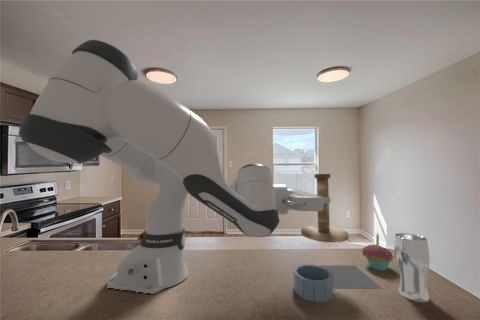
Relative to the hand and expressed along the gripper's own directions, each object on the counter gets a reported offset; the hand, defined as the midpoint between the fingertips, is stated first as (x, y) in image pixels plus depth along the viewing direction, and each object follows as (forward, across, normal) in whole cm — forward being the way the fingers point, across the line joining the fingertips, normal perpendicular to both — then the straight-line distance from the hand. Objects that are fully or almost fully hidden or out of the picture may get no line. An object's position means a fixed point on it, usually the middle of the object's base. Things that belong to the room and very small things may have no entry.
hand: (325, 198), depth 63 cm
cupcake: (+20, +8, +24) cm, 32 cm away
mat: (+6, +2, +24) cm, 25 cm away
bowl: (-6, -5, +24) cm, 25 cm away
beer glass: (+19, -8, +24) cm, 31 cm away
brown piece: (-1, 0, +11) cm, 11 cm away
